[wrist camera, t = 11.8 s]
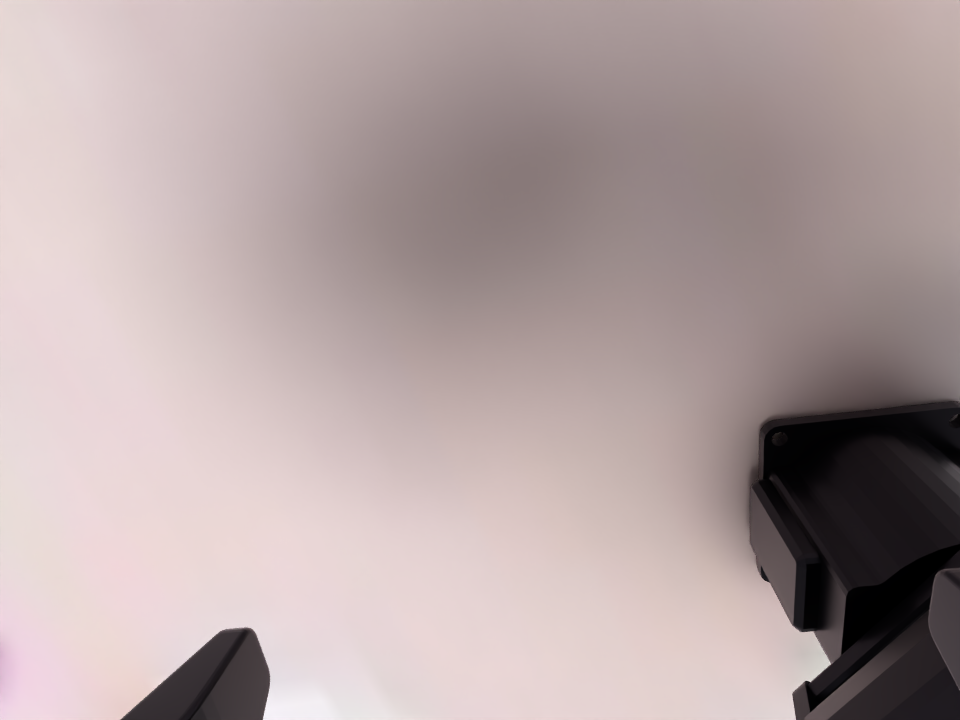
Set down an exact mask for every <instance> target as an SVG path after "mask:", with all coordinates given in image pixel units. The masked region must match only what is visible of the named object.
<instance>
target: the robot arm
mask: <svg viewBox="0 0 960 720" xmlns="http://www.w3.org/2000/svg"><path fill="white" fill-rule="evenodd" d="M957 414H958V416H957V418H956V419H955V420H954V421H951V422H949V421H950V419H951V418H952V417H953V416H954V415H957ZM779 432H782V433H783V435H782V436H781V437H780V438H779V439H776V440H772V437H773V436H774V435H775V434H776V433H779ZM750 545H751V547H752V549H753V551H754V553H755V555H756V556H757V568H758V571H759V573H760V575H761V577H762V578H763V579H764V580H765V581H767V582H770V583H771V585H772V587H773V589H774V591H775V593H776V595H777V597H778V599H779V601H780V603H781V605H782V607H783V609H784V611H785V612H786V614H787V616H788V618H789V620H790V622H791V624H792V625H793V626H794V627H795V628H796V629H798V630H799V631H800V632H808V631H813V632H814V633H815V635H816V637H817V639H818V641H819V643H820V644H821V646H822V648H823V650H824V652H825V653H826V655H827V657H828V659H829V661H830V663H831V665H829V666H828V667H827V668H826V669H825V670H824V671H823V672H822V673H820V674H819V675H818V676H817V677H816V678H815V679H814V680H813V681H811V682H809V681H805V682H804V683H803V684H802V685H801V686H800V687H798V688H797V689H796V690H795V691H794V692H793V694H792V695H793V702H794V708H795V715H796V720H960V402H954V401H951V402H941V403H932V404H922V405H913V406H903V407H894V408H884V409H875V410H865V411H856V412H846V413H837V414H827V415H817V416H808V417H798V418H789V419H779V420H773V421H770V422H768V423H767V424H765V425H764V426H763V428H762V429H761V432H760V445H759V480H756V481H755V482H754V483H753V484H752V486H751V491H750ZM269 687H270V673H269V668H268V665H267V663H266V660H265V657H264V654H263V652H262V649H261V646H260V643H259V641H258V638H257V635H256V633H255V632H254V631H253V630H252V629H251V628H234V629H226V630H222V631H220V632H219V633H218V634H216V635H215V636H214V637H213V638H212V639H211V640H210V641H209V642H207V643H206V644H205V645H204V646H203V647H202V648H201V649H200V650H198V651H197V652H196V653H195V654H194V655H193V656H192V657H190V658H189V659H188V660H187V661H186V662H185V663H184V664H183V665H181V666H180V667H179V668H178V669H177V670H176V671H175V672H174V673H172V674H171V675H170V676H169V677H168V678H167V679H166V680H165V681H163V682H162V683H161V684H160V685H159V686H158V687H157V688H156V689H154V690H153V691H152V692H151V693H150V694H149V695H148V696H147V697H145V698H144V699H143V700H142V701H141V702H140V703H139V704H138V705H136V706H135V707H134V708H133V709H132V710H131V711H130V712H128V713H127V714H126V715H125V716H124V717H123V718H122V719H121V720H263V716H264V711H265V706H266V702H267V697H268V692H269Z"/></svg>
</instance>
